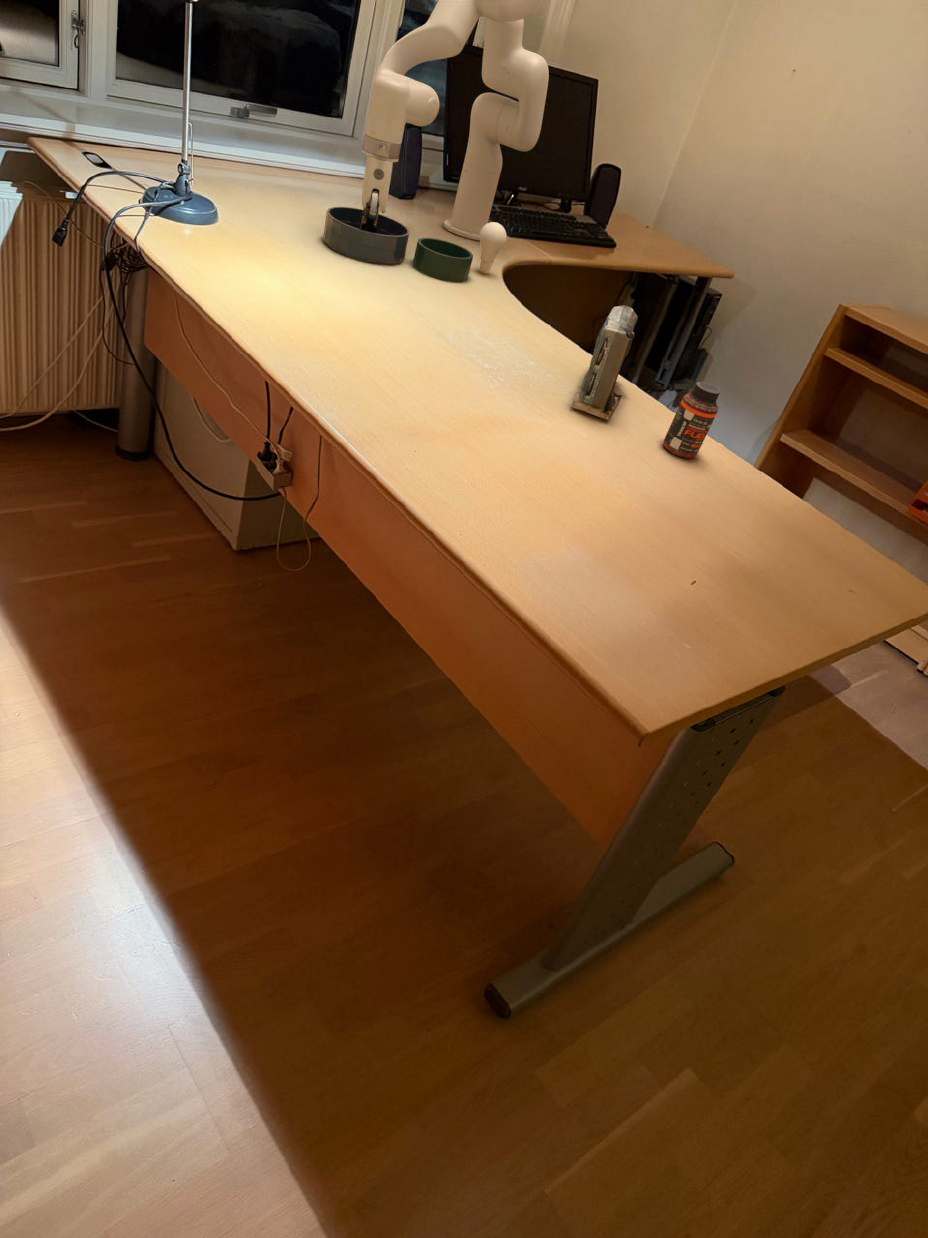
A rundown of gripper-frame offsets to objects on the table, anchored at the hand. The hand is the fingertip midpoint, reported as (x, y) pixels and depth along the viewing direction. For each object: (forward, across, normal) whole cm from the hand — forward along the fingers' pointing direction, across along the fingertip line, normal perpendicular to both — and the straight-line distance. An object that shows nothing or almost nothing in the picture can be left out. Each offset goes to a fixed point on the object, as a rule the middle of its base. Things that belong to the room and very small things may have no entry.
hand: (365, 239), depth 180 cm
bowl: (+2, 0, 0) cm, 2 cm away
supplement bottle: (+2, -74, -51) cm, 89 cm away
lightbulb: (+2, +4, -28) cm, 28 cm away
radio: (+2, -56, -40) cm, 69 cm away
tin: (+2, -2, -17) cm, 17 cm away
